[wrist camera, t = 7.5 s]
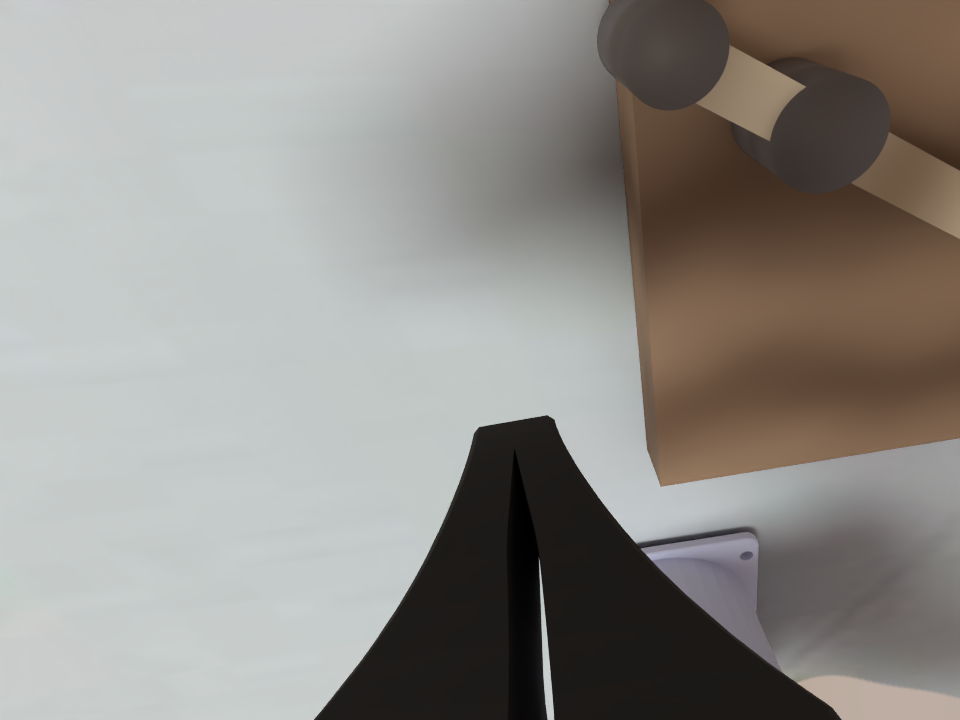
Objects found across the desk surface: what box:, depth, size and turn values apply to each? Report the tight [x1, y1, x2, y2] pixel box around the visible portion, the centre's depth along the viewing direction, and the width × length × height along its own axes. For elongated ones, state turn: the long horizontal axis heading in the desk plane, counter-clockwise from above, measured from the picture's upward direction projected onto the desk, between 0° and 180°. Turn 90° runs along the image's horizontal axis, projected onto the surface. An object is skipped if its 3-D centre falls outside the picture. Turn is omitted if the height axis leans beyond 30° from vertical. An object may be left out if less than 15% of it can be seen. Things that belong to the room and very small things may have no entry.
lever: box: [597, 0, 960, 239], centre depth 16 cm, size 15×2×3 cm, turn 66°
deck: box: [609, 0, 960, 486], centre depth 19 cm, size 18×13×2 cm
